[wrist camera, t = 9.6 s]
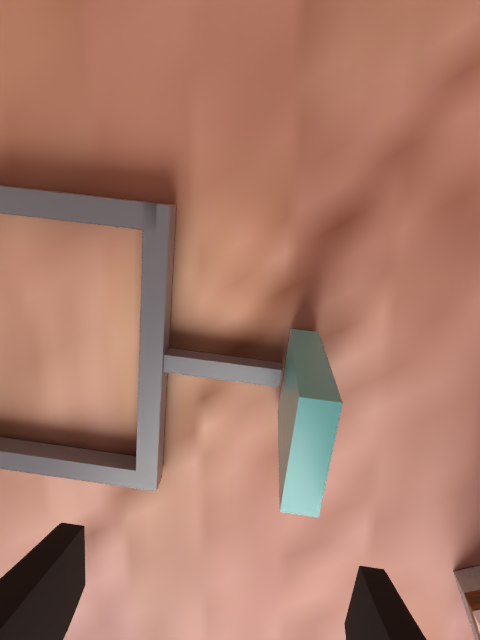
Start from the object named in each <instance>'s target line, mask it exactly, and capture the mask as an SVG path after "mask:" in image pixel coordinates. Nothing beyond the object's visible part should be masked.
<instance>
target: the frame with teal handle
mask: <svg viewBox="0 0 480 640" xmlns="http://www.w3.org/2000/svg"><path fill="white" fill-rule="evenodd" d="M0 213H2V214H11V215H20V216H28V217H37V218H46V219H54V220H63V221H72V222H80V223H89V224H97V225H106V226H115V227H123V228H132V229H141V230H143V241H142V276H141V311H140V346H139V380H138V415H137V450H136V456H130V455H123V454H116V453H109V452H102V451H95V450H88V449H81V448H74V447H67V446H60V445H53V444H46V443H39V442H32V441H25V440H18V439H11V438H4V437H0V469H6V470H13V471H20V472H26V473H33V474H40V475H47V476H54V477H61V478H68V479H74V480H81V481H88V482H95V483H102V484H109V485H115V486H122V487H129V488H136V489H143V490H150V491H157V488H158V486H159V483H160V481H161V478H162V466H163V447H164V429H165V410H166V391H167V373H174V374H181V375H189V376H196V377H204V378H212V379H219V380H227V381H234V382H242V383H249V384H257V385H265V386H272V387H280V381H281V374H282V363H281V362H273V361H266V360H258V359H250V358H242V357H235V356H227V355H219V354H211V353H204V352H196V351H188V350H180V349H173V348H169V335H170V316H171V297H172V279H173V260H174V241H175V222H176V205H174V204H165V203H156V202H147V201H138V200H129V199H120V198H111V197H103V196H94V195H85V194H76V193H67V192H58V191H49V190H40V189H31V188H22V187H14V186H5V185H0ZM341 407H342V400H341V397H340V394H339V391H338V388H337V385H336V382H335V379H334V376H333V373H332V370H331V367H330V364H329V361H328V358H327V355H326V352H325V349H324V346H323V343H322V340H321V337H320V334H319V332H315V331H307V330H299V329H291V328H290V334H289V341H288V347H287V354H286V361H285V367H284V374H283V380H282V387H281V393H280V400H279V406H278V448H279V497H280V512H285V513H292V514H299V515H305V516H312V517H319V513H320V508H321V504H322V499H323V494H324V489H325V484H326V479H327V475H328V470H329V465H330V460H331V455H332V451H333V446H334V441H335V436H336V431H337V427H338V422H339V417H340V412H341Z"/></svg>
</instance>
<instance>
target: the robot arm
mask: <svg viewBox="0 0 480 640" xmlns="http://www.w3.org/2000/svg"><path fill="white" fill-rule="evenodd" d="M84 587H85V540H84V526H81V525H74V524H67V523H61V524H59V525H58V526H57V527H56V528H55V529H54V530H53V531H51V532H50V533H49V534H48V535H47V536H46V537H45V538H44V539H43V540H42V541H41V542H40V543H39V544H38V545H37V546H35V547H34V548H33V549H32V550H31V551H30V552H29V553H28V554H27V555H26V556H25V557H24V558H23V559H21V560H20V561H19V562H18V563H17V564H16V565H15V566H14V567H13V568H12V569H11V570H9V571H8V572H7V573H6V574H5V575H4V576H3V577H1V578H0V640H63V638H64V636H65V634H66V632H67V630H68V628H69V625H70V623H71V620H72V618H73V615H74V613H75V610H76V608H77V605H78V602H79V600H80V597H81V595H82V592H83V589H84ZM345 632H346V640H426V638H425V636H424V635H423V633H422V632H421V630H420V628H419V627H418V625H417V624H416V622H415V620H414V619H413V617H412V615H411V614H410V612H409V610H408V609H407V607H406V605H405V604H404V602H403V600H402V599H401V597H400V595H399V594H398V592H397V590H396V589H395V587H394V585H393V583H392V582H391V580H390V578H389V577H388V575H387V573H386V572H385V571H384V569H378V568H371V567H364V566H359V570H358V573H357V577H356V581H355V585H354V589H353V593H352V597H351V601H350V605H349V609H348V613H347V617H346V620H345Z"/></svg>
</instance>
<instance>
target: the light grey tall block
mask: <svg viewBox="0 0 480 640" xmlns="http://www.w3.org/2000/svg"><path fill="white" fill-rule="evenodd" d="M453 572H454V575H455V578H456V581H457V584H458V587H459V590H460V593H461V596H462V599H463V602H464V606H465V609H466V612H467V615H468V618H469V621H470V624H471V627H472V630H473V633H474V636H475V639H476V640H480V566H476V567H471V568H467V569H462V570H457V571H453Z"/></svg>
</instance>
